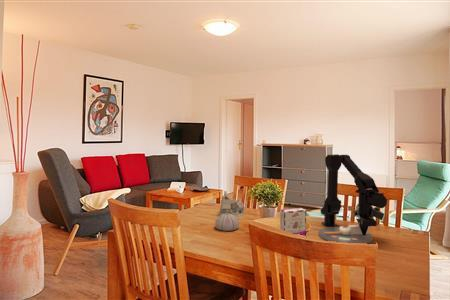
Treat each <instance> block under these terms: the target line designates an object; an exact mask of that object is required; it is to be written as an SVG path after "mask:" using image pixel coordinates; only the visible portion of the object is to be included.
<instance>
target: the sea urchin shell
mask: <svg viewBox="0 0 450 300" xmlns="http://www.w3.org/2000/svg"><path fill="white" fill-rule="evenodd" d="M214 225H215V228H216V229H217V230H219V231H225V232H226V231H227V232H229V231H234V230H235V231H236V230H237V229H238V228H239V226H240V221H239V219H238V217H235V216H234V215H233V214H229V213H228V214H227V213H226V214H222V215H220V216H219V217H217V218H216V220H215V221H214Z"/></svg>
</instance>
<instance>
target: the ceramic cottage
mask: <svg viewBox="0 0 450 300" xmlns="http://www.w3.org/2000/svg"><path fill="white" fill-rule="evenodd" d="M223 193H224V194H223V195H222V196H221V200H220V207H219V211H218V217H219V216H220V215H222V214H226V213H227V214H228V213H229V214H233V215H234V216H235V217H236V218H238V217H243V216H245V205H244V204H245V203H244V202H241V201H240V198H237V199H231V198H230V196H229V195H228V193H227V190H224V192H223ZM218 217H217V218H218Z"/></svg>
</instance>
